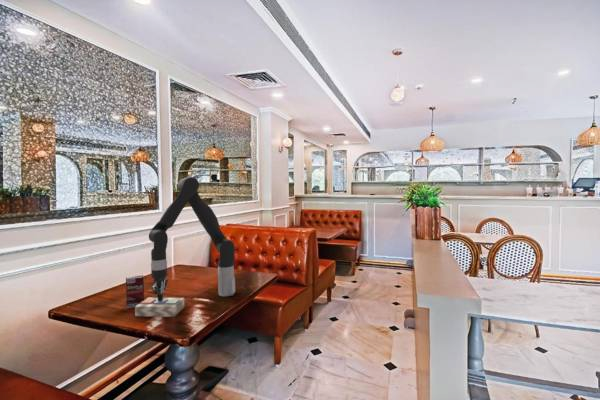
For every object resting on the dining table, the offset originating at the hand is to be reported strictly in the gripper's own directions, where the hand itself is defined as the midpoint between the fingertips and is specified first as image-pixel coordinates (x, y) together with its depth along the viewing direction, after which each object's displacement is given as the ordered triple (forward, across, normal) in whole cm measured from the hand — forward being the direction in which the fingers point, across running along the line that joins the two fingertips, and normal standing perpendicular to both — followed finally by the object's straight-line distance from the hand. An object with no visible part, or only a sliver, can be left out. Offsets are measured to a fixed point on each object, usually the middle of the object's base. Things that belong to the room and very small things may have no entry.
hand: (160, 300), depth 157 cm
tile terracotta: (+4, 0, +6) cm, 8 cm away
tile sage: (+4, 0, -7) cm, 8 cm away
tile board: (+6, 0, 0) cm, 6 cm away
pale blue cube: (+4, 0, 0) cm, 4 cm away
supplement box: (+6, +7, +18) cm, 20 cm away
